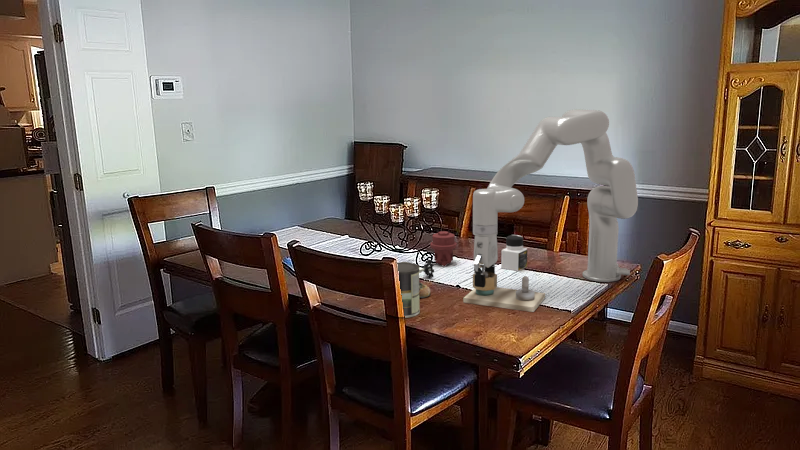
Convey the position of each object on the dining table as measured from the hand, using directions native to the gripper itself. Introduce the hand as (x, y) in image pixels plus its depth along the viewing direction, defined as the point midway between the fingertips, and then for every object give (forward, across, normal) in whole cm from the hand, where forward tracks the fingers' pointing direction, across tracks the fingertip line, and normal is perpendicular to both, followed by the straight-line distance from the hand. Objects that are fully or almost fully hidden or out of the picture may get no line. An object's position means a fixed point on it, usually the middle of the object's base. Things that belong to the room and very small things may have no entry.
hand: (484, 282), depth 195 cm
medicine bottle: (+5, +36, +1) cm, 36 cm away
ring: (+2, 0, 0) cm, 2 cm away
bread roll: (+6, -5, +22) cm, 23 cm away
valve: (+5, +9, +29) cm, 31 cm away
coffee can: (+5, -22, +18) cm, 29 cm away
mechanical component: (+5, +31, +27) cm, 41 cm away
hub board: (+5, 0, -6) cm, 8 cm away
